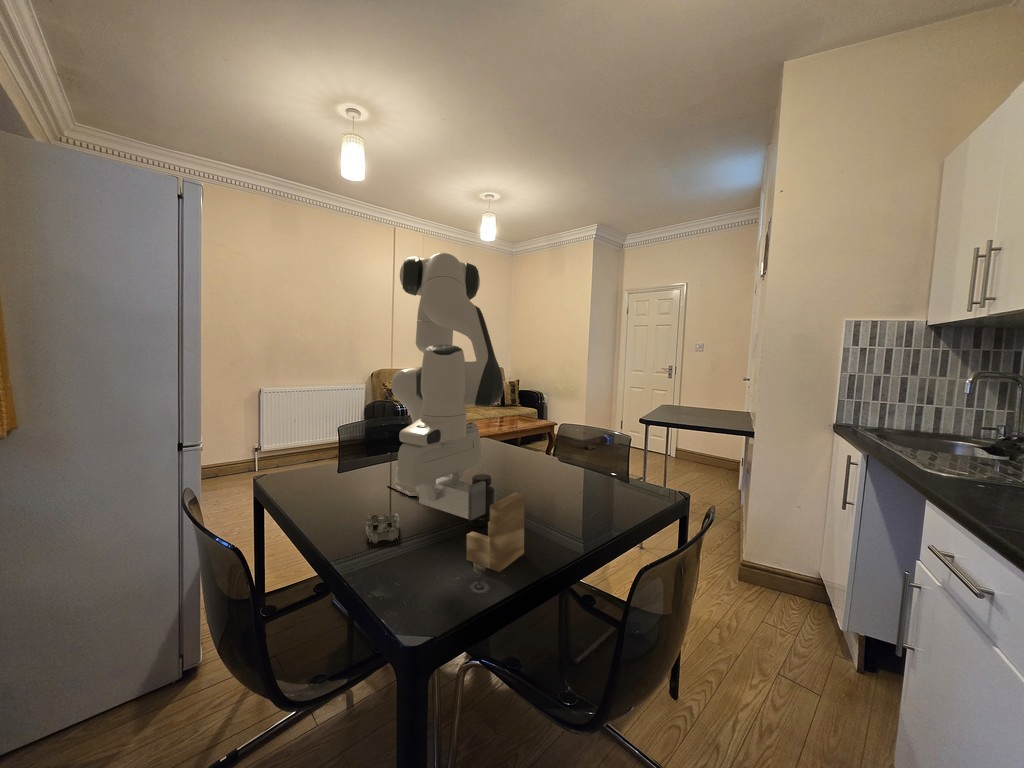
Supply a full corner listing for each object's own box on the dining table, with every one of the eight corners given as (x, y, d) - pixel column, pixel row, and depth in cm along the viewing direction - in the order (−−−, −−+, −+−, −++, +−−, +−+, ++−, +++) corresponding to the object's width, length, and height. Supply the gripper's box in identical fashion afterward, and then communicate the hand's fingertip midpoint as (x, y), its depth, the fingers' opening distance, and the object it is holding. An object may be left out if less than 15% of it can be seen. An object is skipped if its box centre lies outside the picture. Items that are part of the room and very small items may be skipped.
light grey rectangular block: (418, 502, 81) (418, 473, 80) (433, 497, 84) (433, 468, 83) (471, 520, 73) (471, 487, 72) (485, 513, 76) (485, 481, 76)
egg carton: (367, 527, 99) (367, 511, 99) (399, 523, 102) (398, 508, 101) (364, 546, 89) (364, 528, 89) (399, 542, 91) (399, 524, 91)
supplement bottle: (470, 516, 105) (470, 472, 105) (496, 517, 105) (496, 472, 104) (466, 528, 99) (466, 480, 98) (494, 528, 98) (494, 481, 98)
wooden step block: (466, 559, 83) (466, 499, 82) (492, 543, 91) (492, 487, 90) (499, 572, 79) (499, 508, 78) (523, 553, 86) (524, 494, 85)
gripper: (466, 419, 89) (466, 479, 90) (391, 433, 72) (392, 508, 73) (489, 422, 85) (488, 485, 86) (415, 438, 68) (416, 516, 69)
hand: (443, 496), depth 79 cm, fingers closed on light grey rectangular block, 4 cm apart
